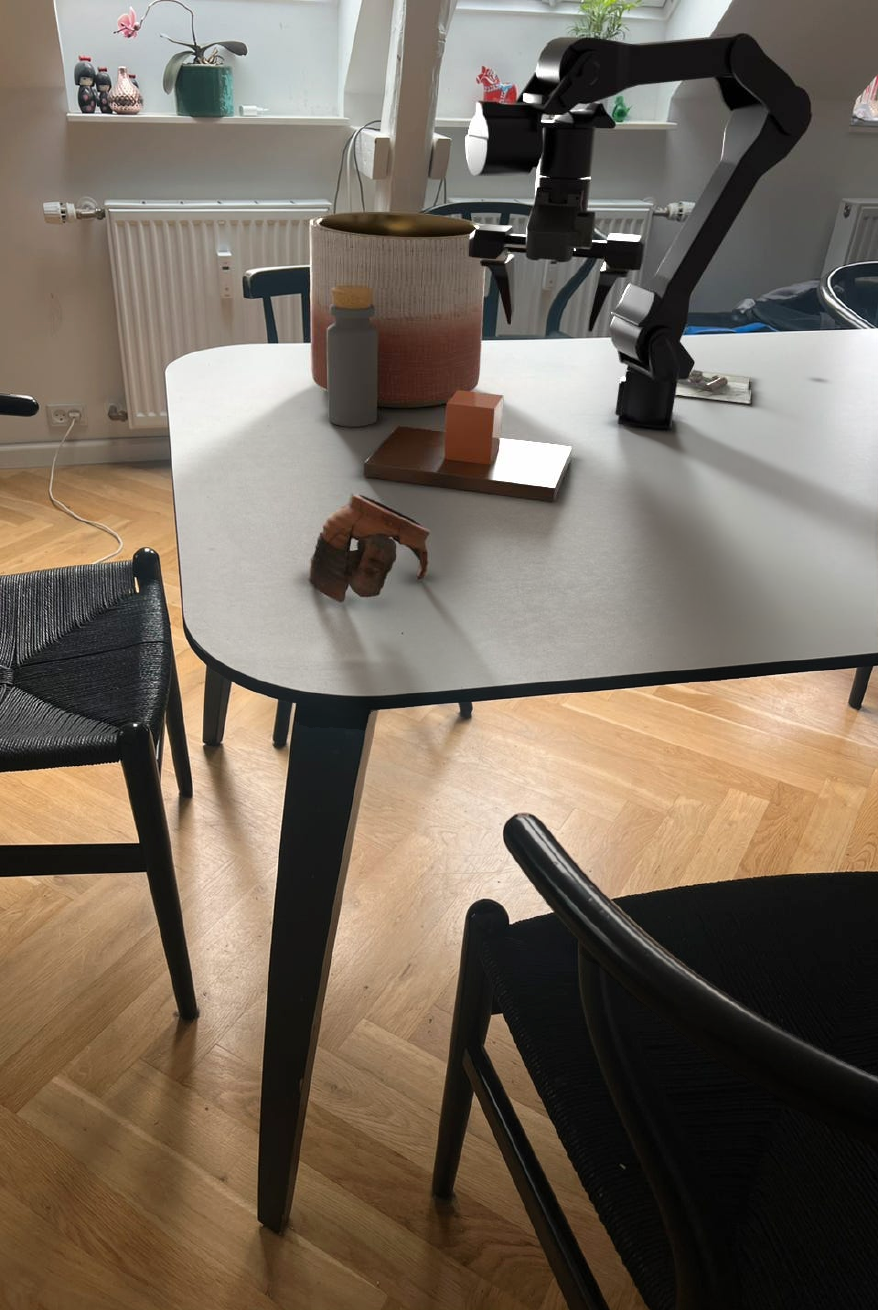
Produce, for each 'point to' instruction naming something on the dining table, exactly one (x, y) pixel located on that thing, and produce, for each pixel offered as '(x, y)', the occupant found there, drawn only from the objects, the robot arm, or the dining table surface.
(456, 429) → the terracotta block
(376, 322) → the planter
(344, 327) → the bottle
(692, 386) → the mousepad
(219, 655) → the dining table surface
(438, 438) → the board
